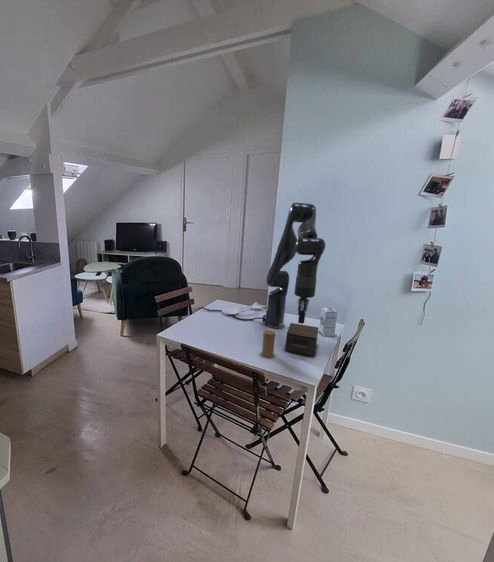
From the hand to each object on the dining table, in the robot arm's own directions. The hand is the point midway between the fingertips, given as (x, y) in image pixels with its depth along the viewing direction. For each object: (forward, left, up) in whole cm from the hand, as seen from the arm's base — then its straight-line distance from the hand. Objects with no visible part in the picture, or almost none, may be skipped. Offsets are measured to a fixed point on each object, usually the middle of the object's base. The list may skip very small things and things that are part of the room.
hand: (301, 322), depth 137 cm
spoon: (-38, +59, -21) cm, 73 cm away
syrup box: (+10, +44, -21) cm, 50 cm away
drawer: (0, +16, -20) cm, 26 cm away
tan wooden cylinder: (-13, +4, -21) cm, 25 cm away
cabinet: (0, +20, -21) cm, 29 cm away
